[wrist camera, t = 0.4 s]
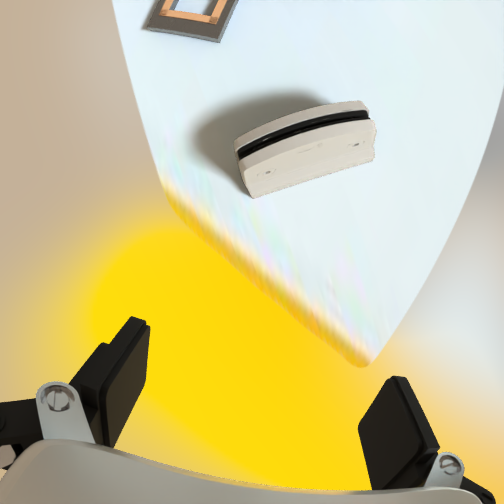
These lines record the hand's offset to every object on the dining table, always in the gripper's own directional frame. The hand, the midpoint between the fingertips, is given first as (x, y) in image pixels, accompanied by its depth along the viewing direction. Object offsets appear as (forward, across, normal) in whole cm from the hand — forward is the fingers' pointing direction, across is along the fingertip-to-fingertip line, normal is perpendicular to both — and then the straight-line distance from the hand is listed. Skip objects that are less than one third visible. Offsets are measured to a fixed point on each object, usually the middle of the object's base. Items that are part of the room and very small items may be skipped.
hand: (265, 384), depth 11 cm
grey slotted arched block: (+31, -2, -10) cm, 32 cm away
